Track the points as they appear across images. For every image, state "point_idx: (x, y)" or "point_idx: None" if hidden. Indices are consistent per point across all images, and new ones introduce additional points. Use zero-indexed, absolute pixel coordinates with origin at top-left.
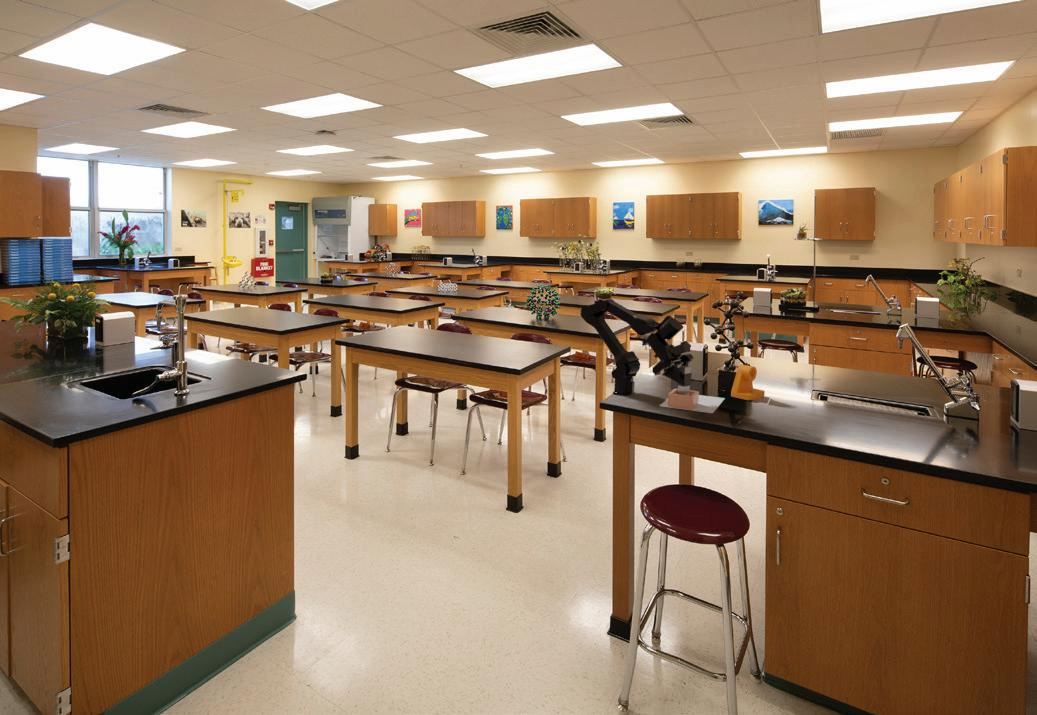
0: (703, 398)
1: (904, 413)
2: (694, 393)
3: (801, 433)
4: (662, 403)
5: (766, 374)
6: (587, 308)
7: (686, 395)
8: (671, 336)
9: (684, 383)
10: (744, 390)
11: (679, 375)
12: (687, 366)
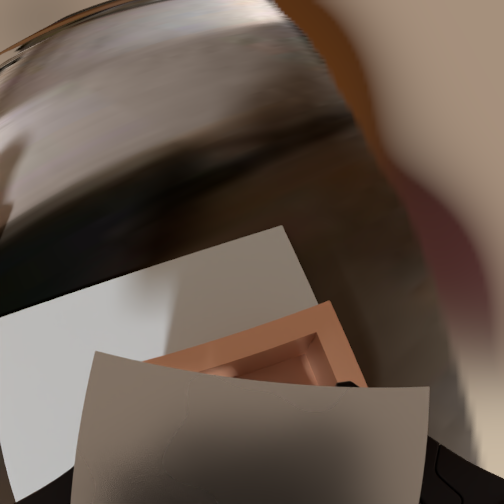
0: (38, 406)
1: (15, 67)
2: (216, 358)
3: (251, 42)
4: None
5: None
6: None
7: (336, 363)
8: None
9: (356, 385)
10: None
11: (434, 447)
12: (158, 459)
